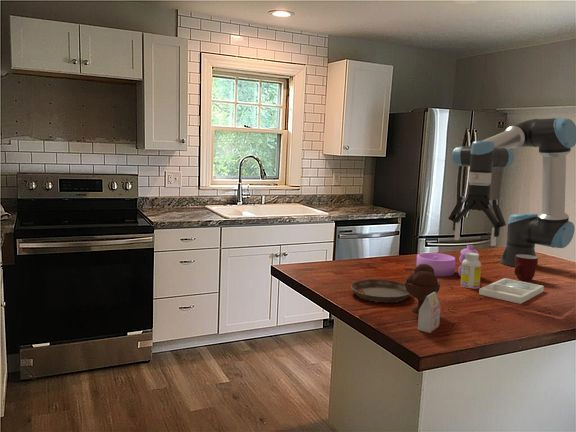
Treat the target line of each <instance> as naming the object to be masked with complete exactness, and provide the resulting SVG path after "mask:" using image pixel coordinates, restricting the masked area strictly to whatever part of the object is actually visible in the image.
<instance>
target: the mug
mask: <svg viewBox="0 0 576 432" xmlns="http://www.w3.org/2000/svg"><path fill="white" fill-rule="evenodd" d="M538 262H539V257H538V256H537V255H536V256H532V255H524V254H518V255H515V267H514V275H515V276H516V278H517V280H518V281H522V282H531V281H532V280H533V279H534V277H535V275H536V274H535V273H536V271H537V267H538V264H539V263H538Z"/></svg>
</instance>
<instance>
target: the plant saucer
mask: <svg viewBox="0 0 576 432" xmlns="http://www.w3.org/2000/svg"><path fill="white" fill-rule="evenodd" d="M350 287H351V290H352V291H353V293H354V294H355V295H356V296H357V297H358V296H359V297H358V298H360V299H362V298H363V299H362V300H364V299H366V300H365V301H367V300H369V301H368V302H371V301H375V302H374V303H378V302H385V303H384V304H388V303H387V302H396V303H400V302H402V301H404V300H406V299H407V298H408V297H409V296H411V295H410V294H409V293H408V292H407V290H406V288H405V283H402V282H399V281H396V280H389V279H377V278H376V279H364V280H363V279H361V280H358V281H357V280H356V281H355V282H353V283H352V284H350ZM361 289H362V290H363V291H364V292H365V294H363V293H360V292H357V291H358V290H361ZM399 301H400V302H399Z"/></svg>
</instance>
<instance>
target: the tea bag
mask: <svg viewBox="0 0 576 432" xmlns="http://www.w3.org/2000/svg"><path fill="white" fill-rule="evenodd" d="M441 309H442V308H441V304H440V300H439V299H438V293H437V294H436V292H433V293H431V294H430V295H428V296H426V298H425V300H424V302H423V304H422V306H421V307H420V309H419V314H418V316H417V317H418V319H417V330H418V331H421V332H425V333H429V334H431V333H432V332H433V331H435V330H437V328H439V327H440V318H441Z"/></svg>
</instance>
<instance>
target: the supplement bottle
mask: <svg viewBox="0 0 576 432" xmlns="http://www.w3.org/2000/svg"><path fill="white" fill-rule="evenodd" d="M465 257H466V259H465V260H463V262H462V263H461V265H462V271H461V277H460V286H461V287H463V288H466V289H480V288H481V287H480V285H481V272H482V263H481V261H480V260H479V258H480V254H479V253H478V254H477V253H466V255H465ZM478 260H479V261H478Z"/></svg>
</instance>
